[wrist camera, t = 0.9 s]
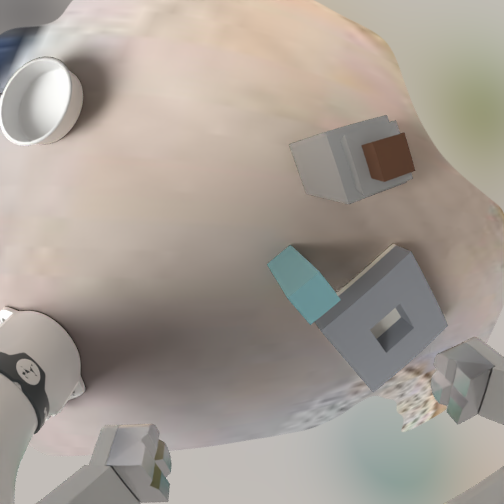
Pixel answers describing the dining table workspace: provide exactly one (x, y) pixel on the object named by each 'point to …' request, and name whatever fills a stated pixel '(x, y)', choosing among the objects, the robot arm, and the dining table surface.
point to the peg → (303, 284)
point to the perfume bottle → (354, 160)
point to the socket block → (383, 317)
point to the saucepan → (40, 102)
